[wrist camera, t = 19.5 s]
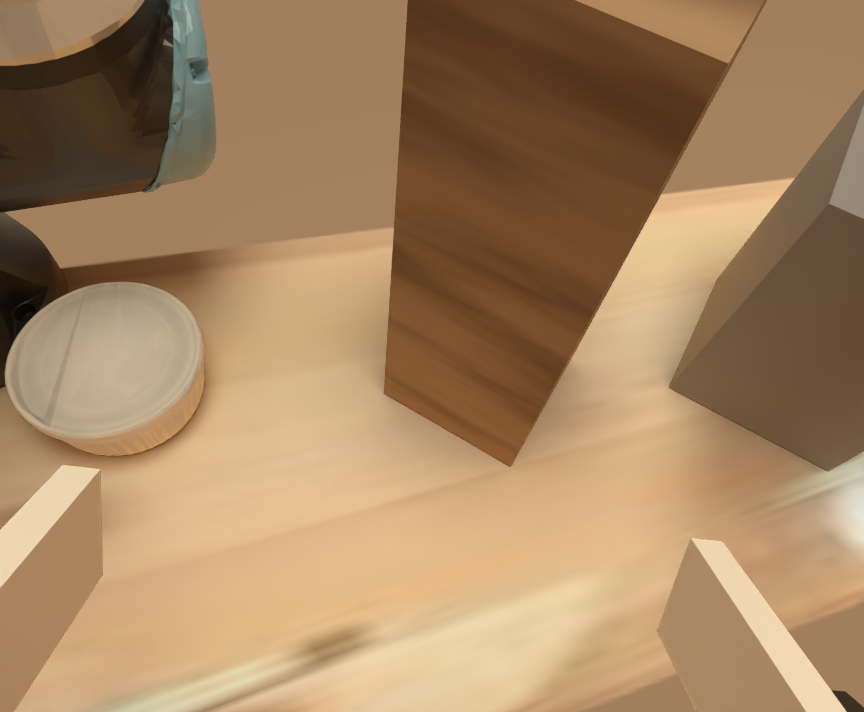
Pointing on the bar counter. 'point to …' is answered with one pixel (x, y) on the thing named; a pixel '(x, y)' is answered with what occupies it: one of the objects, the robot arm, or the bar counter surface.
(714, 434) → the bar counter surface
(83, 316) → the ramekin
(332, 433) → the bar counter surface
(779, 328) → the low post
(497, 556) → the bar counter surface
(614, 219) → the tall post
